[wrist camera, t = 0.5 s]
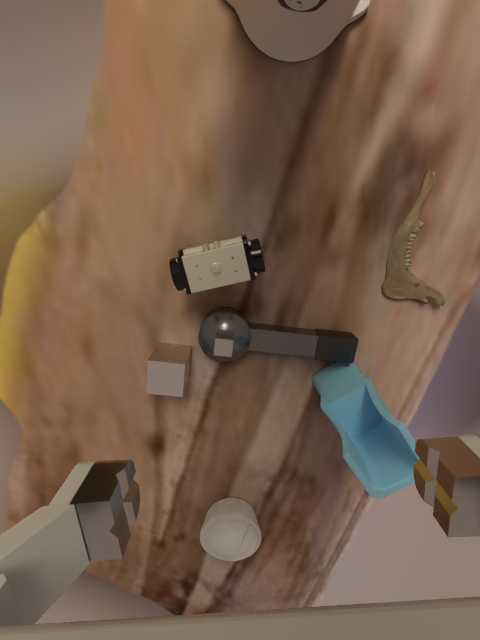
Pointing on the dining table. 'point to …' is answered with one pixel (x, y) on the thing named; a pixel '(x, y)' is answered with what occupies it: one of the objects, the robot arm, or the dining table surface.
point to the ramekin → (230, 530)
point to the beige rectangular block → (168, 369)
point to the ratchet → (270, 339)
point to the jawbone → (409, 255)
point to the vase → (366, 429)
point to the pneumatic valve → (217, 264)
